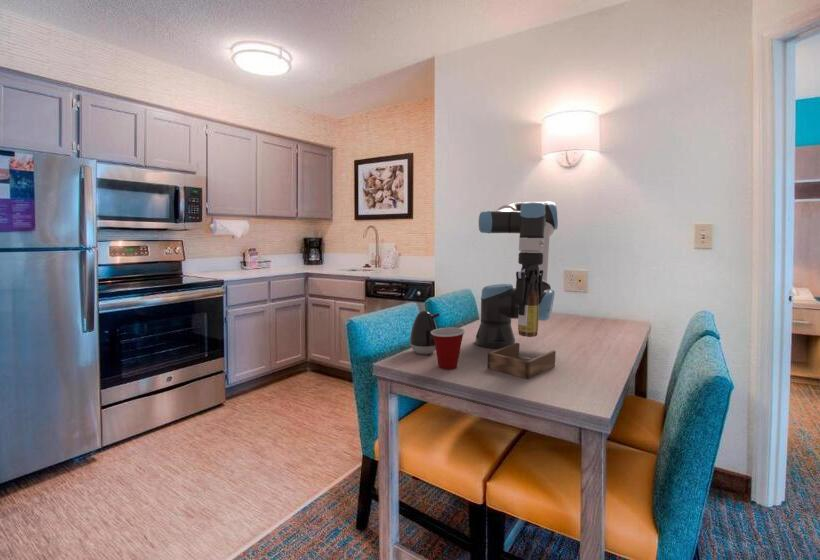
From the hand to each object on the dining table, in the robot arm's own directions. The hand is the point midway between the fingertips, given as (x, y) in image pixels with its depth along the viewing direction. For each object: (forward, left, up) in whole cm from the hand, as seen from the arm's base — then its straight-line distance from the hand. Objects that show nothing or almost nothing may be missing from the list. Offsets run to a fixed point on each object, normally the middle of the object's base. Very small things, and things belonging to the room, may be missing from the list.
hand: (527, 323), depth 135 cm
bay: (0, -3, -14) cm, 14 cm away
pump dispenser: (-33, -13, -14) cm, 38 cm away
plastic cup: (-17, -20, -14) cm, 30 cm away
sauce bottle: (0, 0, -4) cm, 4 cm away
